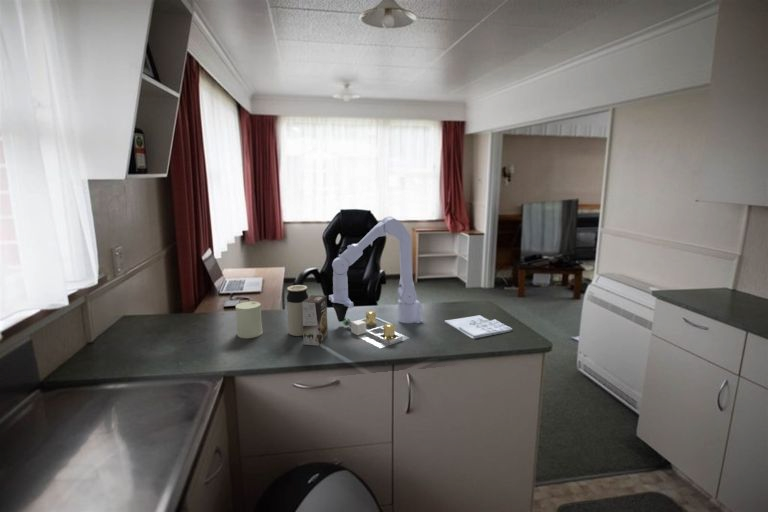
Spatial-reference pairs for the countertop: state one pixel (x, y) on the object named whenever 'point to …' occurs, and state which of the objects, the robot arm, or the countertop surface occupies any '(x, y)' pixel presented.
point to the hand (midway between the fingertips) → (341, 320)
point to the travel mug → (296, 308)
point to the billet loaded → (389, 331)
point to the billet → (370, 318)
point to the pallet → (381, 337)
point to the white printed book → (478, 326)
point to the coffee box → (314, 319)
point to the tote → (377, 319)
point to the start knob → (346, 322)
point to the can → (249, 319)
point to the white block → (358, 327)
